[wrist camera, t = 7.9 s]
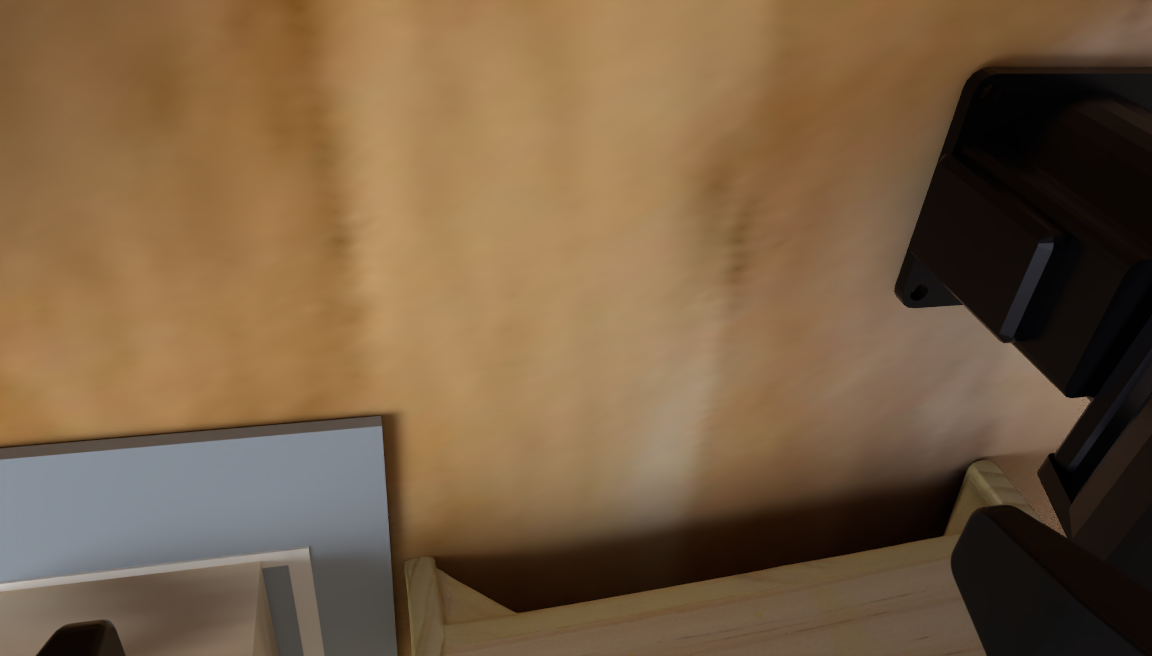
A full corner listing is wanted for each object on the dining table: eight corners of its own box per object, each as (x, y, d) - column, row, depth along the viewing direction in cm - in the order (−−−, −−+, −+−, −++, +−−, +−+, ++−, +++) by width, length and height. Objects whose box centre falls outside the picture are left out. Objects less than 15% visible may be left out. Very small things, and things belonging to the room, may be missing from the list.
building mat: (381, 415, 23) (382, 427, 22) (401, 715, 31) (402, 728, 30) (-260, 470, 20) (-271, 485, 19) (-50, 788, 28) (-55, 803, 27)
